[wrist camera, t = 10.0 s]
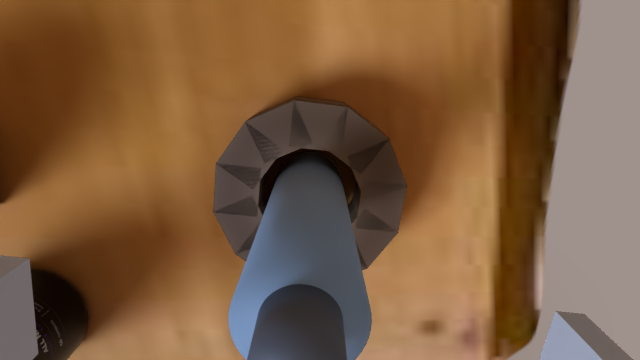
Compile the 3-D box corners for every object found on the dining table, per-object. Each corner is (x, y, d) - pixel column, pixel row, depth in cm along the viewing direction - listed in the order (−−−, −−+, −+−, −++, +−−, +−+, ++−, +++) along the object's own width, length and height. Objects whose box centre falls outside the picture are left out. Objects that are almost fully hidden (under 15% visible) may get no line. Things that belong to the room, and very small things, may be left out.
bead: (231, 88, 23) (219, 91, 20) (407, 110, 23) (420, 115, 21) (221, 250, 26) (209, 273, 23) (379, 267, 26) (387, 292, 23)
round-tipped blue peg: (280, 148, 24) (214, 290, 9) (346, 156, 24) (396, 309, 9) (274, 210, 25) (205, 435, 10) (337, 217, 25) (368, 449, 10)
